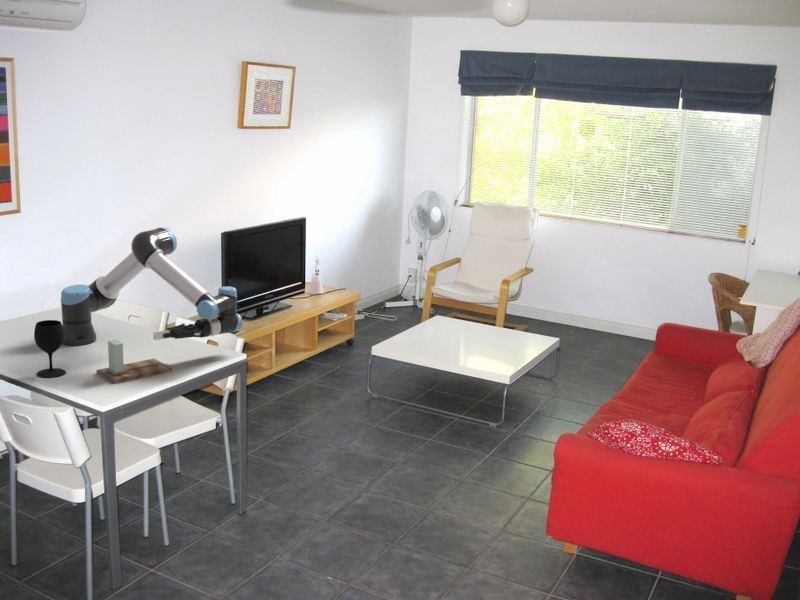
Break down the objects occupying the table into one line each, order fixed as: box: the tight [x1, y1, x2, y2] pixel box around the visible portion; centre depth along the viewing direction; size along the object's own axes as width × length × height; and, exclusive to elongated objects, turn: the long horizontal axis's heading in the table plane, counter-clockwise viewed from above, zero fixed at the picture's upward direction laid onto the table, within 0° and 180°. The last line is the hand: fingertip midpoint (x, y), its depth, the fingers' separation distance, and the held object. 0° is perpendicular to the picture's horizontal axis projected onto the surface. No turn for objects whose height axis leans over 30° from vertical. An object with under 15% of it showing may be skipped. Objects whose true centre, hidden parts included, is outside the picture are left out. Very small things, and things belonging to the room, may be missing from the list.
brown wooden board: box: [96, 358, 173, 385], centre depth 323 cm, size 24×14×2 cm, turn 134°
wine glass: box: [33, 319, 67, 379], centre depth 315 cm, size 10×10×20 cm
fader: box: [105, 339, 127, 375], centre depth 316 cm, size 5×7×12 cm
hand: (154, 336), depth 326 cm, fingers closed
